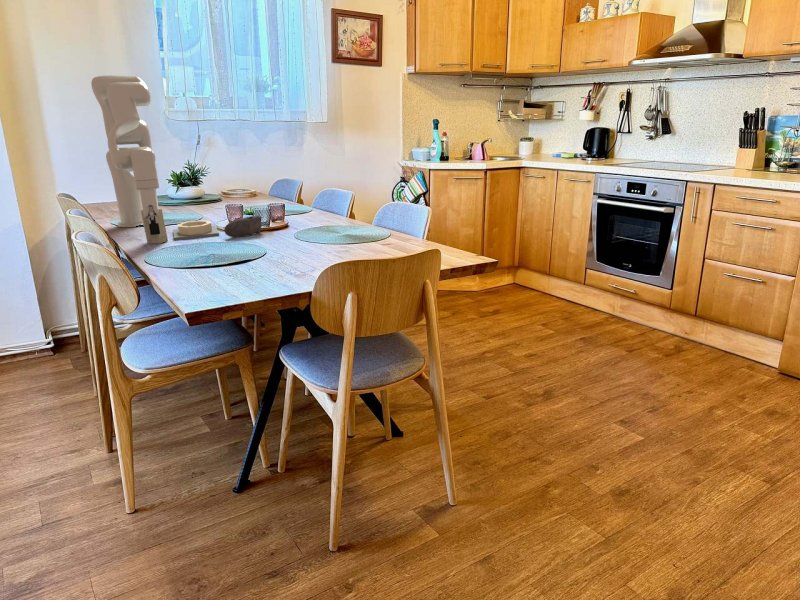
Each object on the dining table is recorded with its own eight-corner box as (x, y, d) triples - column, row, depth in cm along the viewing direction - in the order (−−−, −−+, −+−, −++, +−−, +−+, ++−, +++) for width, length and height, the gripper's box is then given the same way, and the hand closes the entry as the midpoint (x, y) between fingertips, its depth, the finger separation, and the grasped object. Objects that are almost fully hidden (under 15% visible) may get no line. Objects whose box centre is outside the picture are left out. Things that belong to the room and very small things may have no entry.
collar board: (173, 232, 222) (171, 222, 221) (215, 227, 228) (213, 218, 227) (174, 240, 208) (172, 229, 207) (219, 235, 214) (217, 225, 213)
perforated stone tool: (227, 240, 207) (224, 221, 205) (223, 237, 211) (221, 219, 209) (266, 234, 214) (264, 216, 212) (262, 232, 219) (260, 214, 216)
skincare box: (168, 241, 207) (162, 208, 203) (159, 244, 203) (154, 210, 199) (154, 240, 209) (148, 207, 205) (145, 243, 205) (140, 210, 201)
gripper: (136, 182, 205) (144, 228, 211) (134, 188, 190) (143, 237, 196) (158, 181, 208) (166, 226, 214) (158, 186, 193) (166, 235, 199)
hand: (155, 231), depth 205 cm, fingers open, 9 cm apart
